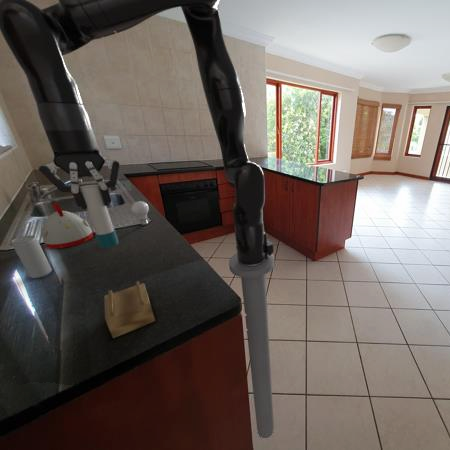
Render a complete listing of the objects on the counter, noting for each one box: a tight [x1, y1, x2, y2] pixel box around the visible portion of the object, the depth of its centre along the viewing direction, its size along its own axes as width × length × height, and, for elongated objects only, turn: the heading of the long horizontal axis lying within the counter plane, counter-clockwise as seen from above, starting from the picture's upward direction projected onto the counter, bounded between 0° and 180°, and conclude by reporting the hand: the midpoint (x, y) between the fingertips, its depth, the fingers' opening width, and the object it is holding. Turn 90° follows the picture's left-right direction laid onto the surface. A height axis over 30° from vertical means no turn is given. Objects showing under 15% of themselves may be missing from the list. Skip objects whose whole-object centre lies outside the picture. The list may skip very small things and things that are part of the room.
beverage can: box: [11, 235, 53, 279], centre depth 69 cm, size 5×5×12 cm
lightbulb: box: [131, 200, 150, 226], centre depth 104 cm, size 6×6×11 cm
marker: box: [79, 184, 120, 249], centre depth 57 cm, size 15×4×4 cm
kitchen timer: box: [40, 202, 94, 249], centre depth 89 cm, size 14×14×15 cm
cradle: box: [103, 280, 156, 339], centre depth 55 cm, size 8×9×6 cm
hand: (96, 205), depth 56 cm, fingers closed on marker, 3 cm apart
